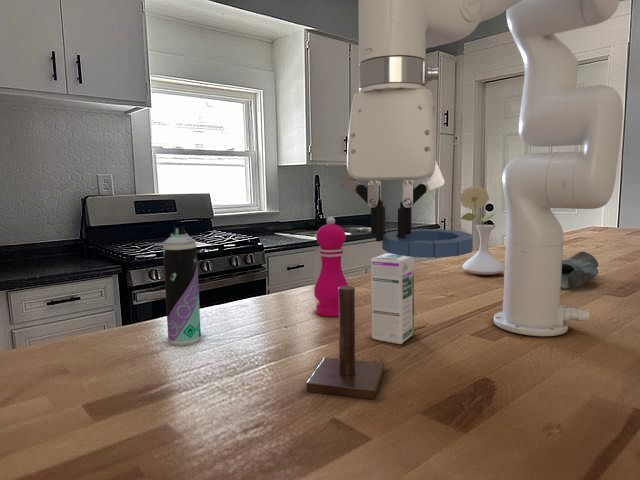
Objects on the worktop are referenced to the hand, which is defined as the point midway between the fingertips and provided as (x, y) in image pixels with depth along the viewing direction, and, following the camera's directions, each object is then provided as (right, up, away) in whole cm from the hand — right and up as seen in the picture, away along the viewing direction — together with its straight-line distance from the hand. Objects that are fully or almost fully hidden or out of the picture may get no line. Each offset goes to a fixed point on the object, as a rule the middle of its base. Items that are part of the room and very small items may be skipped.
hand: (391, 239), depth 56 cm
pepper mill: (-6, -15, +41) cm, 44 cm away
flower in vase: (+37, -10, +77) cm, 86 cm away
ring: (+4, -1, -1) cm, 4 cm away
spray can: (-32, -18, +25) cm, 45 cm away
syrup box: (+4, -17, +26) cm, 31 cm away
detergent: (+58, -11, +66) cm, 89 cm away
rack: (-5, -20, +9) cm, 22 cm away
